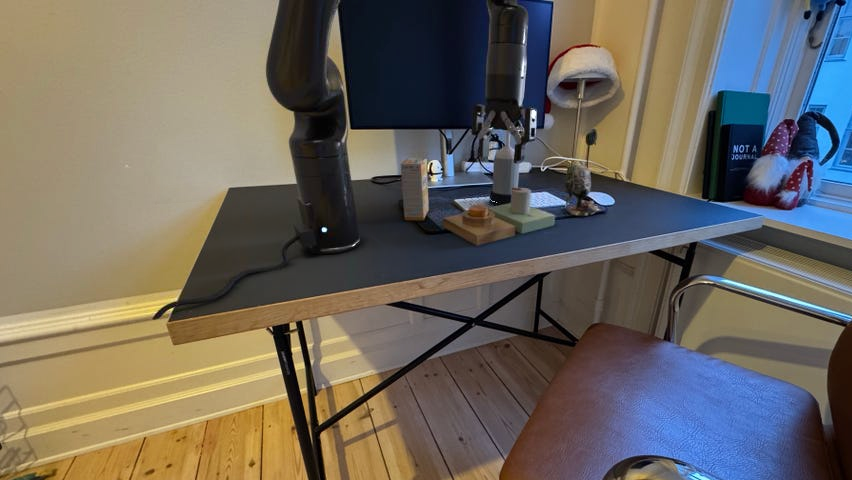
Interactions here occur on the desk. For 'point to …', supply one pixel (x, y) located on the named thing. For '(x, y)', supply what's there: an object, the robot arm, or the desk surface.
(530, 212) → the green base plate
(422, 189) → the supplement box
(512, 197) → the dimmer knob
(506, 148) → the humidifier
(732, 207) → the desk surface
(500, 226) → the lamp base
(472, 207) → the light button
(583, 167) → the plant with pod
